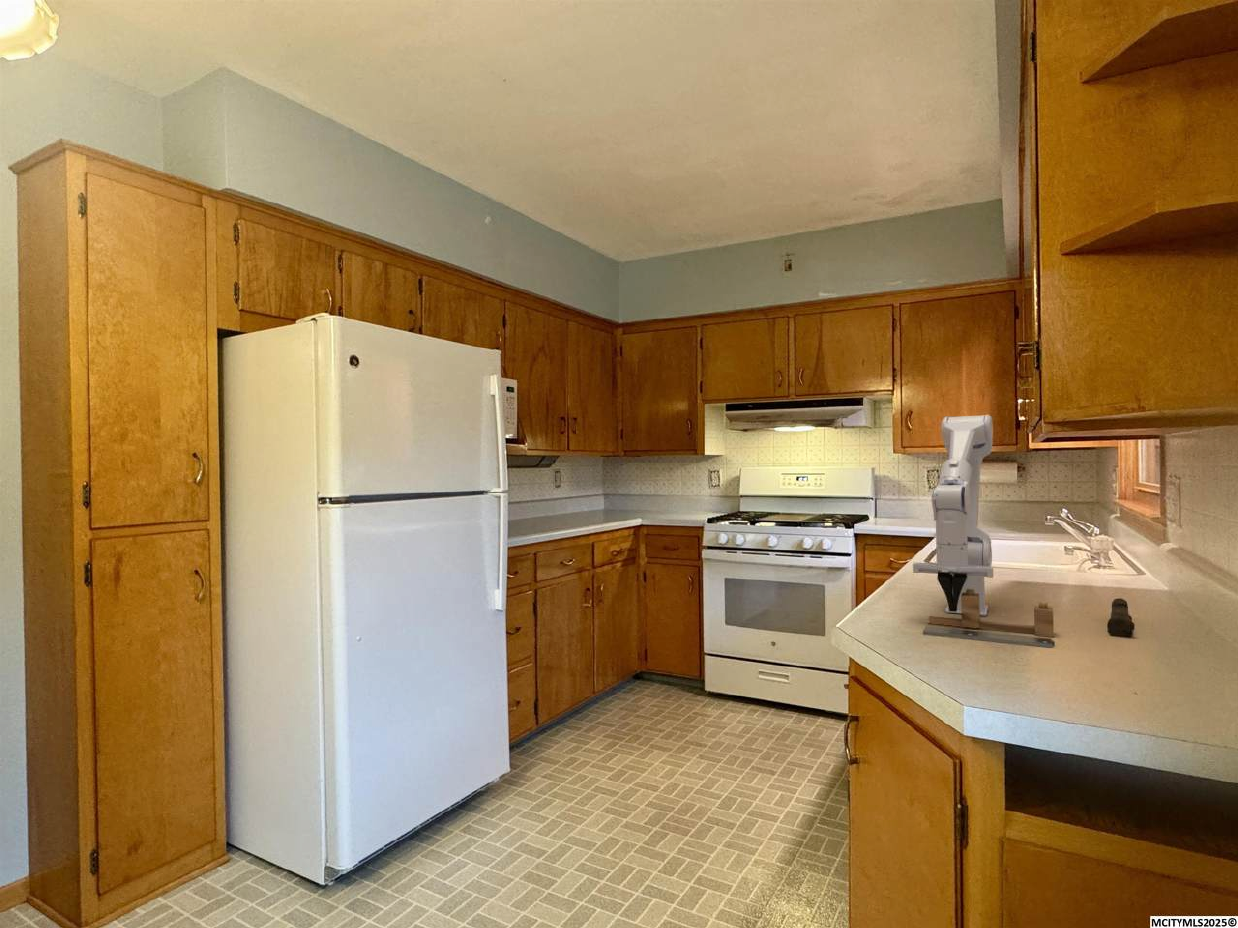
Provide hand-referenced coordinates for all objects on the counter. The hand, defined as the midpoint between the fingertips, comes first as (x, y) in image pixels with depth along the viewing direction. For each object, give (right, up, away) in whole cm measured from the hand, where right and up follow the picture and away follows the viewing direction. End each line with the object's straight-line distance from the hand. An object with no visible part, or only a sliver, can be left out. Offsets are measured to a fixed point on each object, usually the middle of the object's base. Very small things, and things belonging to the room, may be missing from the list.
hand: (953, 610), depth 134 cm
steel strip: (+1, -3, -10) cm, 10 cm away
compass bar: (+5, -3, -3) cm, 7 cm away
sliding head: (+3, -3, -2) cm, 4 cm away
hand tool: (+31, -3, -3) cm, 31 cm away
